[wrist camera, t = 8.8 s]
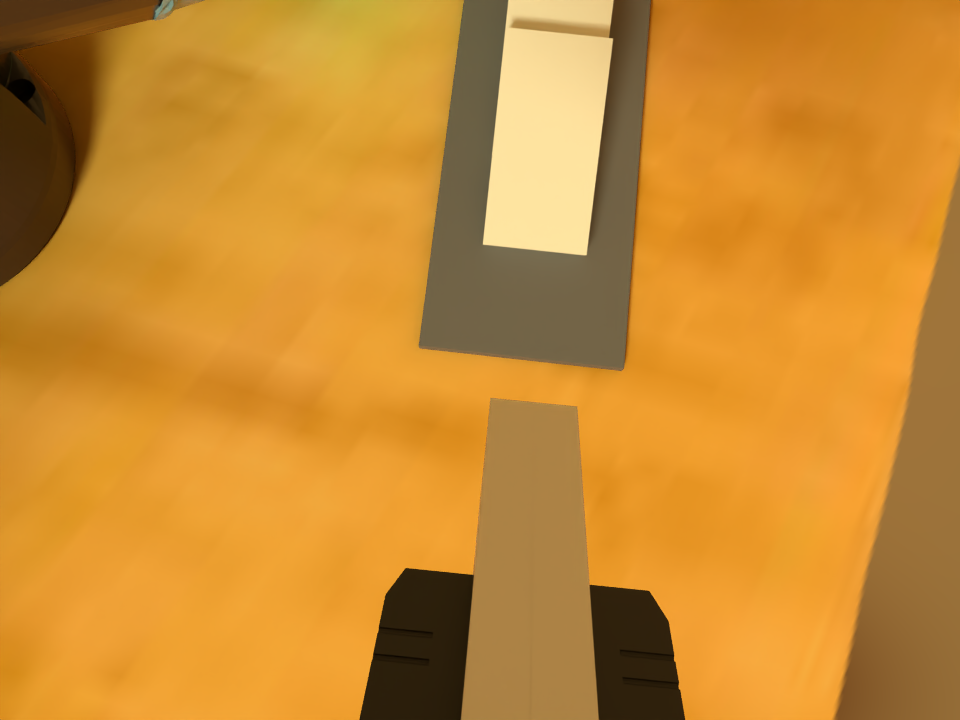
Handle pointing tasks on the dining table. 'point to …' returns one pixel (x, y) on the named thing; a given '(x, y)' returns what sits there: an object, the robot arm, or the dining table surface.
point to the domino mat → (522, 272)
